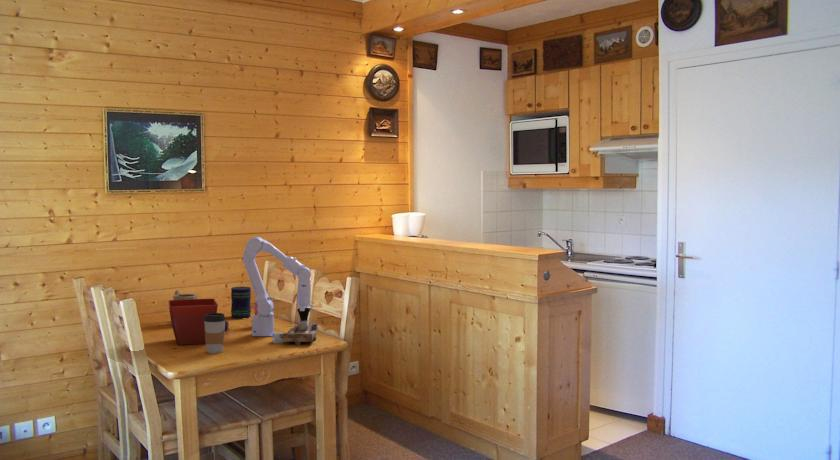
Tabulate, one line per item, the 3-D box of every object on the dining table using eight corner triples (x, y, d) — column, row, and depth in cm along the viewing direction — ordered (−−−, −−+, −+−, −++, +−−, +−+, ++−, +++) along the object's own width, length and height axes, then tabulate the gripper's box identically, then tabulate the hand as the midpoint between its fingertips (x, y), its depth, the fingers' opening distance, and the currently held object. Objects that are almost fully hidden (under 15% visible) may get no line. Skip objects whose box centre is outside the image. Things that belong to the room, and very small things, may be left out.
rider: (297, 330, 310) (297, 321, 310) (299, 328, 314) (299, 319, 314) (307, 330, 310) (307, 321, 310) (308, 328, 314) (308, 319, 314)
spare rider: (274, 343, 297) (274, 334, 297) (272, 341, 301) (272, 332, 301) (283, 343, 299) (283, 333, 298) (281, 341, 302) (281, 331, 302)
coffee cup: (206, 349, 284) (206, 312, 283) (227, 349, 284) (227, 312, 284) (201, 354, 275) (201, 316, 275) (223, 354, 276) (223, 316, 275)
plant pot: (168, 338, 304) (168, 299, 303) (214, 335, 311) (214, 298, 310) (169, 347, 286) (169, 306, 285) (217, 344, 293) (217, 304, 292)
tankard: (202, 325, 334) (202, 294, 333) (175, 327, 327) (175, 295, 326) (190, 318, 350) (190, 288, 350) (164, 320, 343) (164, 290, 342)
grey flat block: (281, 345, 294) (282, 332, 294) (289, 334, 316) (289, 322, 316) (313, 345, 295) (313, 332, 295) (318, 334, 317) (318, 322, 317)
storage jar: (248, 319, 351) (248, 289, 351) (228, 318, 352) (228, 289, 351) (253, 315, 361) (253, 286, 361) (234, 315, 362) (234, 286, 361)
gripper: (311, 296, 308) (311, 327, 308) (314, 292, 322) (314, 321, 323) (295, 296, 307) (294, 327, 308) (299, 292, 322) (299, 321, 323)
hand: (303, 324), depth 316 cm, fingers closed
